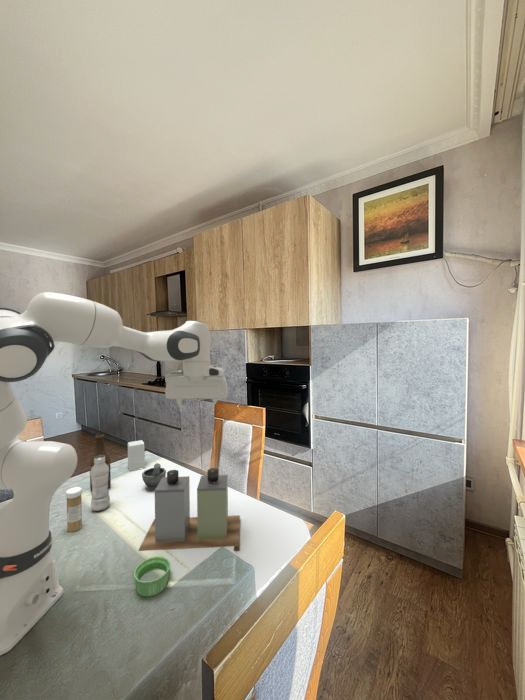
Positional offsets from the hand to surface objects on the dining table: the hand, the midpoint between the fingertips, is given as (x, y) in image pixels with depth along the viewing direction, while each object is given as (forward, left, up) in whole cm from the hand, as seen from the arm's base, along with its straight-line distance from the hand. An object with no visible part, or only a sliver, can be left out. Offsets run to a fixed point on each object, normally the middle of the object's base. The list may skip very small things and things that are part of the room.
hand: (197, 411), depth 98 cm
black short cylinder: (-2, +8, -39) cm, 40 cm away
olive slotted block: (-2, -5, -39) cm, 39 cm away
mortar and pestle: (+32, +24, -41) cm, 57 cm away
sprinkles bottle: (+5, +43, -41) cm, 59 cm away
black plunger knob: (-2, -5, -39) cm, 39 cm away
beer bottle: (+32, +47, -41) cm, 70 cm away
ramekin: (-21, +9, -41) cm, 47 cm away
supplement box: (+55, +40, -41) cm, 79 cm away
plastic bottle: (+17, +40, -41) cm, 60 cm away
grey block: (-2, +8, -39) cm, 40 cm away
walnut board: (-2, +1, -41) cm, 41 cm away
